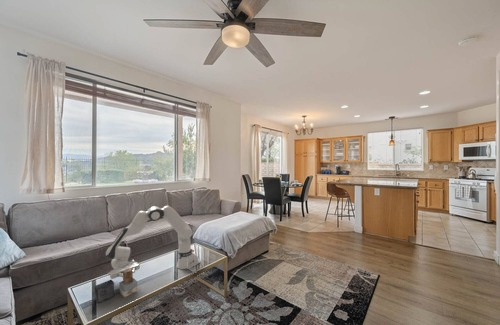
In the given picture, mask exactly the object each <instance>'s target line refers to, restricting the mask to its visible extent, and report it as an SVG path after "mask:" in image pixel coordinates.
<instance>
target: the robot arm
mask: <svg viewBox="0 0 500 325" xmlns="http://www.w3.org/2000/svg"><path fill="white" fill-rule="evenodd" d="M161 219H165V221H166V222H167V223H168V224H169V225H170V226H171V227H172V228H173V229H174V231H175V232H176V233H177V239H178V240H177V242H178V251H177V258H178V259H177V263H176V268H177V269H181V270H185V269H187V270H190V269H192V268H193V266H194V267H195V266H197V265H198V264H200V263H201V259H200V258H199V257H198V255H197V254H196V253H194V252H195V250H194V249H192V248H191V237H192V236H193V230H192V228H191V226H190V225H189V224H188V223H187V222H186V221H185V220H184V218H183V217H182V216H180V214H179V213H178V212H177V211H176V210H175V209H174V208H173V207H172V206H170V205H165V206H163V207H160V206H158V205H151V206H150V207H149V208H147V209H146V210H139V211H138V212H137V213H136V214H135V216H134V217H133V219H132V221H131V222H130V224H129V225H127V226H126V227H124V228H123V229H122V230H121V231H120V232H119V234H118V235H117V237H116V238H115V239H114V241H113V242H112V243H111V244H110V246H109V247H107V249H106V251H105V257H106V259H107V260H111V262H110V265H111V267H112V269H111V270H110V271H109V272H107V275H108V276H109V278H110V280H113V279H116V278H117V279H118V278H120V277H121V278H123V277H124V274H123V270H125V269H128V268H131V269H132V270H133V274H134V273H135V274H136V271H138V270H140V267H141V265H140V263H139V262H137V261H135V260H134V259H131V260H130V258H131V257H132V249H131V247H130V246H121V243H122V242H123V240H124V239H126V238H127V237H130V236H134V235H138V234H140V233H142V231H143V230H144V229H145V227H146V224H147V222H148V221H149V220H150V221H153V222H156V221H159V220H161Z"/></svg>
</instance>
